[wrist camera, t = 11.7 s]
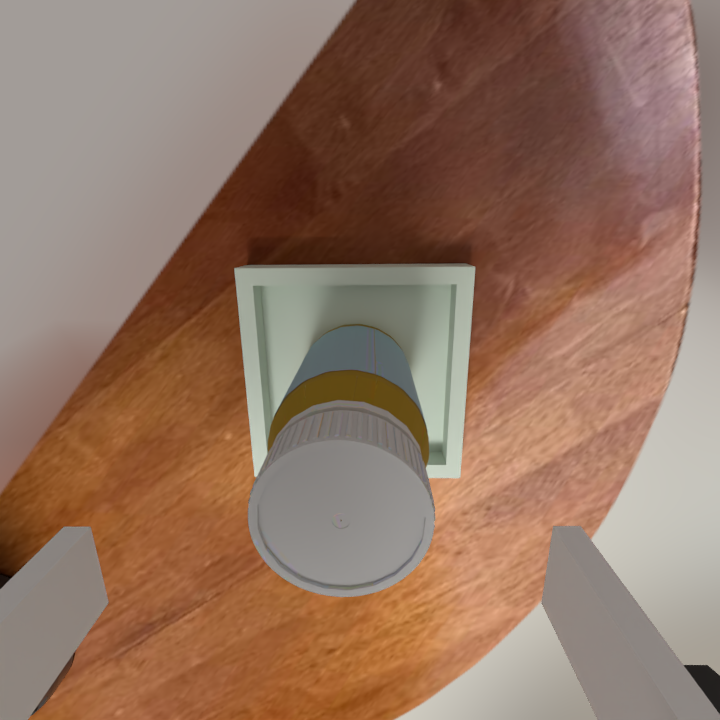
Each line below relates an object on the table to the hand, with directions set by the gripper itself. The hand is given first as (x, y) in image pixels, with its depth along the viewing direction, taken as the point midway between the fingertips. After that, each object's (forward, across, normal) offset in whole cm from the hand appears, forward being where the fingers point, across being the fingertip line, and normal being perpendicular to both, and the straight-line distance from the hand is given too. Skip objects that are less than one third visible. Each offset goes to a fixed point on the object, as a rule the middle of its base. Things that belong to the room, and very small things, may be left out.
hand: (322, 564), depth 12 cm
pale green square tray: (+17, +1, 0) cm, 17 cm away
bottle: (+17, +1, 0) cm, 17 cm away
